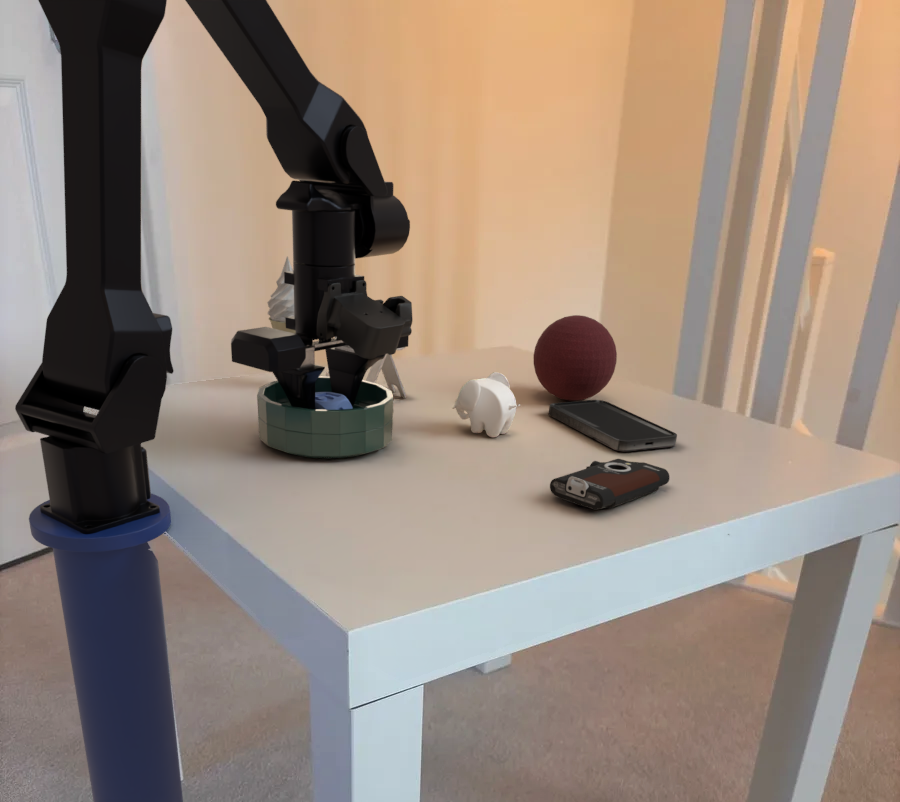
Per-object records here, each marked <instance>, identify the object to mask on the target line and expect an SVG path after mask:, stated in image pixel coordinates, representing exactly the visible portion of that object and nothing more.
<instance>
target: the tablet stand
mask: <svg viewBox="0 0 900 802" xmlns="http://www.w3.org/2000/svg"><path fill="white" fill-rule="evenodd" d="M405 349H406V347H403V348H398V349H396V352H400V351H403V350H405ZM380 372H382V375H383V377H384V380H385V383H386V385H387V389H389V390H391V391H392V393H395V392H396V389H395V387H396V388H397V391H398V393H399V395H400V397H401V398H403V399H406V398H407V397H408V396H407V393H406V391H405V389H404V385H403V383H402V380H401V377H400V373H399V372H398V369H397V367H396V363H395V361H394V358H393V354H392V355H389V354H386V355H385V357H384V358H383V359H381V360H378V361H377V362H376V363H375V364H373V365H372V366H371V367H370V368H369V372H368V374H367V376H366V379H365V381H369V382H372V383H376V382H377V380H378V377H379V375H380ZM325 376H327V377H330V376H329V371H325Z"/></svg>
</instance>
